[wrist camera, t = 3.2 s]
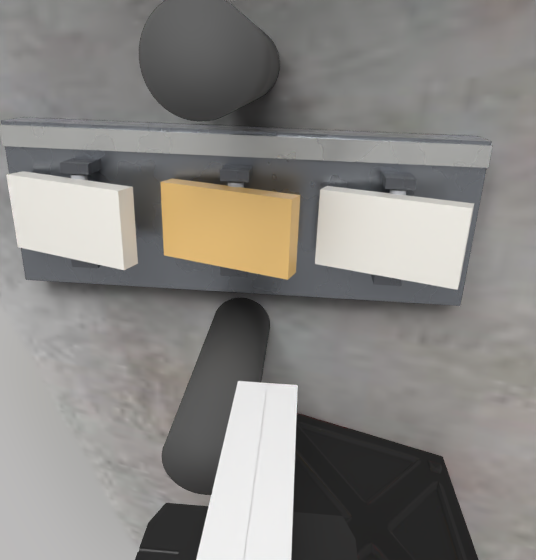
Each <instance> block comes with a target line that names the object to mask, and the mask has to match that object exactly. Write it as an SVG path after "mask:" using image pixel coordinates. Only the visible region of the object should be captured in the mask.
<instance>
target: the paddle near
mask: <svg viewBox="0 0 536 560" xmlns="http://www.w3.org/2000/svg"><path fill="white" fill-rule="evenodd" d="M406 192H407V190H397V189H390V193H383V192H375V191H366V190H358V189H350V188H342V187H333V186H326V187H324V188H322V189H320V198H319V212H318V227H317V241H316V255H315V264H318V265H324V266H329V267H335V268H340V269H346V270H351V271H357V272H362V273H368V274H374V275H379V276H385V277H390V278H396V279H401V280H407V281H412V282H418V283H423V284H429V285H434V286H440V287H445V288H451V289H456V290H458V286H459V283H460V278H461V272H462V267H463V262H464V256H465V251H466V245H467V240H468V235H469V229H470V224H471V219H472V213H473V208H474V203H466V202H458V201H449V200H441V199H433V198H424V197H416V196H408V195H406Z"/></svg>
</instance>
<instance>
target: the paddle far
mask: <svg viewBox="0 0 536 560" xmlns="http://www.w3.org/2000/svg"><path fill="white" fill-rule="evenodd" d="M6 176H7V182H8V188H9V195H10V201H11V207H12V213H13V220H14V226H15V232H16V239H17V245H18V247H20V248H24V249H29V250H33V251H38V252H43V253H47V254H52V255H56V256H61V257H66V258H70V259H75V260H79V261H84V262H89V263H93V264H98V265H102V266H107V267H112V268H116V269H121V270H126V269H128V268H130V267H132V266H134V265H136V264H138V257H137V243H136V228H135V213H134V198H133V187H130V186H123V185H116V184H109V183H102V182H95V181H88V179H87V175H83V174H70V176H71V178H67V177H60V176H53V175H46V174H39V173H32V172H25V171H22V172H17V173H11V174H6Z"/></svg>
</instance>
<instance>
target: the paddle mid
mask: <svg viewBox="0 0 536 560" xmlns="http://www.w3.org/2000/svg"><path fill="white" fill-rule="evenodd" d="M160 183H161V205H162V226H163V248H164V255H165V256H170V257H175V258H180V259H185V260H190V261H195V262H200V263H205V264H210V265H215V266H220V267H225V268H231V269H236V270H241V271H246V272H251V273H256V274H261V275H266V276H271V277H276V278H281V279H286V280H288V279H289V278H290V277H292V276H293V275H294V274H295V273H296V262H297V245H298V227H299V210H300V195H296V194H289V193H281V192H273V191H266V190H258V189H250V188H244V182H229V181H228V186H227V185H220V184H212V183H204V182H197V181H189V180H181V179H174V178H172V179H169V180H165V181H162V182H160Z"/></svg>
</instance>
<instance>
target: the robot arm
mask: <svg viewBox="0 0 536 560" xmlns="http://www.w3.org/2000/svg"><path fill="white" fill-rule="evenodd" d="M297 390H298V385H289V384H275V383H260V382H246V381H238V383H237V387H236V392H235V396H234V400H233V404H232V409H231V413H230V417H229V421H228V426H227V430H226V434H225V439H224V443H223V447H222V451H221V456H220V460H219V464H218V469H217V473H216V477H215V481H214V486H213V490H212V494H211V499H210V503H209V506H197V505H185V504H173V503H166V504H165V505H164V506H163V507H162V508H161V509H160V510H159V511H158V513H157V514H156V515H155V516H154V517H153V518H152V519H151V520H150V522H149V523H148V525H147V528H146V531H145V534H144V536H143V539H142V542H141V545H140V549H139V552H138V553H137V556H136V559H135V560H358V558H357V548H356V539H355V537H354V535H353V534H352V532H351V530H350V528H349V526H348V525H347V523H346V521H345V519H344V517H343V516H336V515H324V514H312V513H300V512H293V498H294V471H295V444H296V417H297Z"/></svg>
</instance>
